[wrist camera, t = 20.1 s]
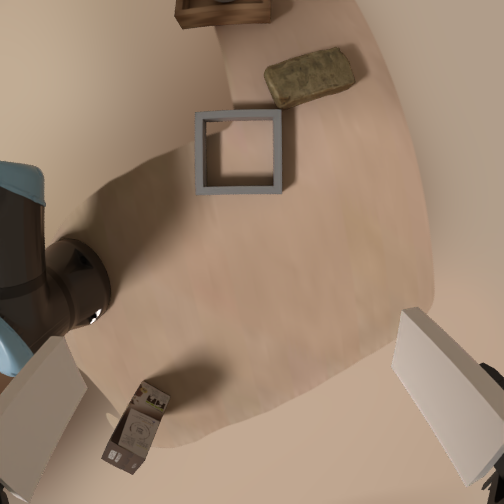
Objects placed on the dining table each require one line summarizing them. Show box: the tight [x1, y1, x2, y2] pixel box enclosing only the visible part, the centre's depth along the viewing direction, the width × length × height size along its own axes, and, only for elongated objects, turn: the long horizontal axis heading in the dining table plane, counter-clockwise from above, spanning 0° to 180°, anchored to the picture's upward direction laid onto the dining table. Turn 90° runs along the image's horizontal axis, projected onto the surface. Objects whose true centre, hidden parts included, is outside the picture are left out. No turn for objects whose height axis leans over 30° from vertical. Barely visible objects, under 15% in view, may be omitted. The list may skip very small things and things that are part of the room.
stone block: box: [264, 47, 355, 111], centre depth 32 cm, size 6×12×5 cm, turn 114°
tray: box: [195, 109, 282, 195], centre depth 36 cm, size 11×11×2 cm
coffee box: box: [101, 381, 170, 475], centre depth 42 cm, size 9×6×16 cm
